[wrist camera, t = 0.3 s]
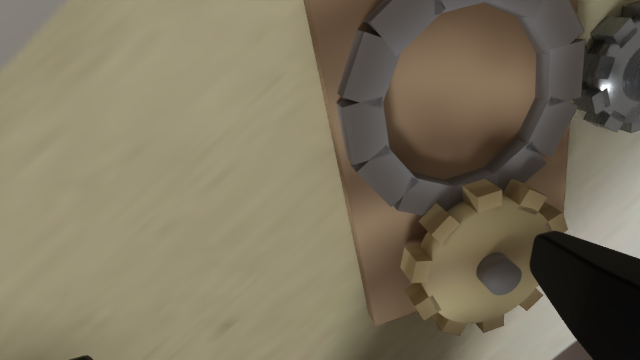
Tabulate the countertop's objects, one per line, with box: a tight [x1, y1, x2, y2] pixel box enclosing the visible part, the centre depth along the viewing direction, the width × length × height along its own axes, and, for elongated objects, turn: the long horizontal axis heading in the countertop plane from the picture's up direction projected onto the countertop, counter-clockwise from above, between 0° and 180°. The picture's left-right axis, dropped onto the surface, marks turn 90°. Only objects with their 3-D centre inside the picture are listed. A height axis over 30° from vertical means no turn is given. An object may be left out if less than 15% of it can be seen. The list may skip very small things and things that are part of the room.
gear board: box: [304, 0, 585, 336], centre depth 22 cm, size 21×14×5 cm, turn 12°
